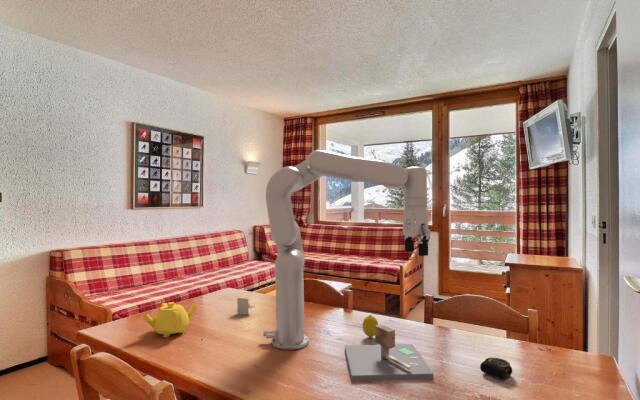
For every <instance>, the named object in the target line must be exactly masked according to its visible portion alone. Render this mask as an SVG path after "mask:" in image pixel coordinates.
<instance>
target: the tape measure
mask: <svg viewBox="0 0 640 400" xmlns="http://www.w3.org/2000/svg"><path fill="white" fill-rule="evenodd" d="M479 368H480V371H481V372H483V373H484V374H486V375H489V376H491V377H494V378H496V379H499V380H502V381H505V380H506V379H509V378H510V377H511V375H512V374H513V368H512V366H511V363H510V362H509V361H508V360H506V359H503V358H500V357H487V358H486V359H485V360H484V361H482V362H481V363H480V365H479Z"/></svg>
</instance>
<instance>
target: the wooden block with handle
mask: <svg viewBox="0 0 640 400" xmlns="http://www.w3.org/2000/svg"><path fill="white" fill-rule="evenodd" d="M374 342H375V343H376V344H377V345H381V358H383V359H389V360H391V361H393V362H395V363H396V364H398V365H400V366H402V367H404V368H406V369H408V370H410V369H411V366H410V365H408V364H406V363H404V362H402V361H400V360H398V359H397V358H395V357H393V356H391V355H389V349H391V348H394V347H395V344H396V330H395V329H393V328H391V327H388V326H386V325H384V324H381V323H380V324H378V325H376V326H375V336H374Z"/></svg>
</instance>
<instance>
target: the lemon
mask: <svg viewBox="0 0 640 400" xmlns="http://www.w3.org/2000/svg"><path fill="white" fill-rule="evenodd" d="M378 322H379V321H378V320H377V318H376V317H375V316H373V315H371V314H369V315H367V316H366V317H365V318H364V319H363V321H362V331H363V333H364V334H365V335H366V336H367V337H368V338H369V339H372V338H373V337H375V326H376V325H379V323H378Z"/></svg>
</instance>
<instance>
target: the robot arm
mask: <svg viewBox="0 0 640 400" xmlns="http://www.w3.org/2000/svg"><path fill="white" fill-rule="evenodd" d="M427 173H428V172H427V169H426V168H425V167H423V166H410V167H406V168H404V167H403V166H402V165H399V164H396V163H391V162H386V161H381V160H377V159H376V160H375V159H369V158H363V157H358V156H351V155H347V154H341V153H336V152H333V151H327V150H321V149H314V150H313V151H310V153H309V154H308V155H307V158H306V159H305V160H303V161H302V162H300V163H297V164H296V165H294V166H291V165H290V166H283V167H281V168H279V169H278V170H276V172H274V173H273V174H272V176H271V177H270V178H269V180H268V182H267V185H266V188H265V201H266V202H265V203H266V209H267V215H268V221H269V222H268V223H269V229H270V237H271V240H272V241H273V242H274V243H275V244H276V252H277V256H276V259H275V263H274V281H275V306H276V307H275V308H276V309H275V312H276V313H275V316H276V317H275V318H276V319H275V321H276V322H275V324H276V325H275V326H276V327H275V328H274V329H272V330H267V329H266V330H263V333H262V334H263V337H265V339H271V345H272V346H273V347H274V348H276V349H280V350H286V351H288V350H289V351H291V350H298V349H302V348H304V347H306V346H307V345H308V344H309V342H310V337H309V336H308V335H306V334H305V294H304V293H305V292H304V291H305V290H304V287H305V286H304V284H305V283H304V267H305V260H306V256H305V251H304V245H303V242H302V241H303V240H302V236H301V230H300V226H299V224H298V223H297V222H296V220H295V217H294V211H293V205H292V200H291V199H292V198H291V196H292V193H297V192H299V191H301V190H302V189H303V188H305V187H307V186H309V185H310V184H312V183H314V182H316V181H317V180H318V179H320V178H322V177H327V178H333V179H337V180H342V181H346V182H353V183H371V184H375V185H380V186H383V187H384V188H386V189H389V190H394V189H402V188H403V195H404V197H403V205H404V207H403V208H404V209H403V214H402V234H403V236H404V238H403V239H404V252H406V253H408V252H409V253H412V252H415V248H414V247H415V245H414V244H415V243H414V242H415V241H414V238H417V239H418V242H419V243H418V244H417V245H418V246H417V247H418V256H419V257H426V256H428V255H429V243H430V238H431V237H430V236H431V233H432V231H431V229H429V218H428V209H427V208H428V185H427V184H428V180H427V179H428V176H427Z"/></svg>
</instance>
